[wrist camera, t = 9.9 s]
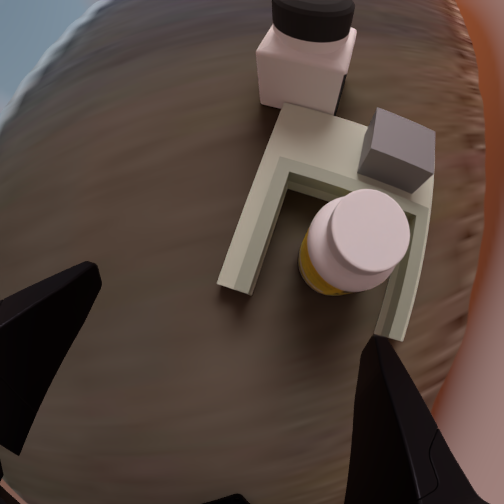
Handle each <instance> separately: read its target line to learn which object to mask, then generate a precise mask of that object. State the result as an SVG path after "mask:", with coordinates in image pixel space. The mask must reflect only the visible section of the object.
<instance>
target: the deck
mask: <svg viewBox="0 0 504 504" xmlns="http://www.w3.org/2000/svg"><path fill="white" fill-rule="evenodd" d="M434 166H435V131H433V130H431V129H428V128H426V127H424V126H422V125H420V124H417V123H415V122H413V121H411V120H408V119H406V118H403V117H401V116H399V115H396V114H394V113H391V112H389V111H386V110H383V109H381V108H378V107H377V109H376V111H375V113H374V116H373V118H372V120H371V122H370V124H369V126H368V127H367V126H364V125H361V124H358V123H355V122H352V121H349V120H346V119H343V118H340V117H336V116H333V115H330V114H326V113H323V112H320V111H316V110H312V109H309V108H305V107H301V106H297V105H293V104H289V103H285V102H284V104H283V106H282V109H281V111H280V114H279V116H278V119H277V121H276V124H275V127H274V129H273V132H272V134H271V137H270V140H269V142H268V145H267V147H266V150H265V153H264V155H263V158H262V161H261V163H260V166H259V168H258V171H257V174H256V176H255V179H254V182H253V185H252V187H251V190H250V193H249V195H248V198H247V201H246V203H245V206H244V209H243V212H242V214H241V217H240V220H239V223H238V225H237V228H236V231H235V234H234V236H233V239H232V242H231V245H230V247H229V250H228V253H227V256H226V259H225V262H224V264H223V267H222V270H221V273H220V276H219V279H218V281H217V284H219V285H222V286H225V287H228V288H231V289H233V290H236V291H239V292H242V293H245V294H248V295H251V296H252V294H253V291H254V288H255V285H256V282H257V279H258V276H259V273H260V270H261V267H262V264H263V261H264V258H265V255H266V252H267V249H268V246H269V243H270V240H271V237H272V234H273V231H274V228H275V225H276V222H277V219H278V216H279V213H280V210H281V207H282V204H283V201H284V198H285V195H286V192H287V189H290V190H293V191H297V192H300V193H303V194H306V195H309V196H313V197H316V198H319V199H322V200H325V201H328V202H330V201H332V200H334V199H337V198H340V197H344V196H346V195H348V194H349V193H351V192H353V191H356V190H360V189H373V190H377V191H380V192H383V193H385V194H387V195H388V196H390V197H391V198H392V199H394V200H395V201H396V202H397V203H398V204H399V206H400V207H401V208H402V210H403V212H404V213H405V215H406V218H407V220H408V224H409V228H410V241H409V246H408V249H407V251H406V253H405V255H404V257H403V258H402V260H401V261H400V262H399V263H398V264H397V265H396V266H395V268H394V270H393V272H392V273H391V274H390V277H389V281H388V285H387V289H386V293H385V296H384V300H383V304H382V307H381V311H380V314H379V318H378V321H377V324H376V327H375V331H374V334H376V335H380V336H385V337H387V338H391V339H394V340H398V341H402V342H403V339H404V336H405V333H406V329H407V326H408V322H409V319H410V315H411V312H412V308H413V304H414V300H415V296H416V292H417V287H418V283H419V278H420V274H421V269H422V264H423V259H424V253H425V247H426V241H427V235H428V228H429V221H430V213H431V204H432V194H433V182H434Z"/></svg>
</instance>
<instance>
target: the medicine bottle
mask: <svg viewBox="0 0 504 504" xmlns="http://www.w3.org/2000/svg"><path fill="white" fill-rule="evenodd" d="M354 9H355V4H354V2H353V1H352V0H272V16H273V25H272V26H271V28H270V29H269V31H268V33H267V34H266V36H265V37H264V39H263V41H262V42H261V44H260V45H259V47H258V49H257V50H256V60H257V71H258V81H259V93H260V102H261V104H263V105H267V106H271V107H275V108H279V109H282V106H283V104H284V102H285V103H289V104H293V105H297V106H301V107H305V108H309V109H312V110H316V111H320V112H323V113H326V114H330V115H333V116H336V112H337V109H338V105H339V101H340V98H341V94H342V90H343V86H344V83H345V79H346V75H347V71H348V67H349V63H350V59H351V55H352V51H353V47H354V43H355V38H356V34H357V31H356V30H355V29H354V28H351V23H352V19H353V14H354Z"/></svg>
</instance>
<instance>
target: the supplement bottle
mask: <svg viewBox="0 0 504 504" xmlns="http://www.w3.org/2000/svg"><path fill="white" fill-rule="evenodd" d="M409 241H410V228H409V224H408V220H407V218H406V215H405V213H404V212H403V210H402V208H401V207H400V206H399V204H398V203H397V202H396V201H395V200H394V199H392V198H391V197H390V196H388V195H387V194H385V193H383V192H380V191H377V190H373V189H360V190H356V191H353V192H351V193H349V194H348V195H346V196H344V197H340V198H337V199H334V200H332V201H330V202H329V203H327V204H326V205H325V206H323V207H322V208H321V209H320V210H319V212H318V213H317V214H316V216H315V217H314V219H313V220H312V222H311V224H310V227H309V229H308V231H307V233H306V235H305V237H304V240H303V242H302V244H301V246H300V249H299V254H298V266H299V270H300V273H301V275H302V277H303V279H304V281H305V282H306V283H307V284H308V285H309V286H310V287H311V288H312V289H313V290H315V291H316V292H318V293H321V294H323V295H328V296H340V295H345V294H350V293H356V292H362V291H366V290H369V289H372V288H374V287H376V286H378V285H379V284H381V283H382V282H384V281H385V280H386V279H387V278H388V277H389V275H390V274H391V273H392V272H393V270H394V268H395V266H396V265H397V264H398V263H399V262H400V261H401V260H402V258H403V257H404V255H405V253H406V251H407V249H408V246H409Z"/></svg>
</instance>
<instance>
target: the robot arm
mask: <svg viewBox="0 0 504 504" xmlns="http://www.w3.org/2000/svg"><path fill="white" fill-rule="evenodd" d="M101 286H102V281H101V277H100V273H99V269H98V266H97V265H96V264H95V263H92V262H89V261H85V262H82V263H80V264H78V265H76V266H73V267H71V268H69V269H66V270H64V271H62V272H60V273H58V274H55V275H53V276H51V277H49V278H47V279H44V280H42V281H40V282H38V283H36V284H34V285H31V286H29V287H27V288H25V289H23V290H21V291H19V292H17V293H15V294H13V295H11V296H9V297H7V298H5V299H4V300H0V445H2V446H3V447H5V448H6V449H8V450H9V451H11V452H13V453H14V454H16V455H18V456H19V455H20V453H21V450H22V448H23V445H24V443H25V440H26V438H27V435H28V433H29V430H30V428H31V426H32V423H33V421H34V419H35V416H36V414H37V412H38V409H39V407H40V405H41V403H42V401H43V399H44V397H45V395H46V392H47V390H48V388H49V386H50V384H51V382H52V380H53V378H54V376H55V375H56V373H57V371H58V369H59V367H60V365H61V363H62V361H63V359H64V357H65V356H66V354H67V352H68V350H69V348H70V347H71V345H72V343H73V341H74V340H75V338H76V336H77V334H78V333H79V331H80V329H81V327H82V326H83V324H84V322H85V320H86V318H87V316H88V314H89V312H90V309H91V307H92V305H93V303H94V301H95V299H96V297H97V295H98V293H99V291H100V289H101ZM437 428H438V426H437V424H436V422H435V421H434V419H433V417H432V415H431V413H430V411H429V409H428V407H427V405H426V404H425V402H424V400H423V398H422V396H421V395H420V393H419V391H418V389H417V388H416V386H415V384H414V382H413V381H412V379H411V377H410V375H409V374H408V372H407V370H406V368H405V367H404V365H403V363H402V362H401V360H400V358H399V357H398V355H397V353H396V352H395V350H394V348H393V347H392V345H391V344H390V342H389V340H388V339H387V338H386V337H385V336H380V335H373V336H372V337H371V338H370V340H369V341H368V343H367V345H366V346H365V348H364V349H363V351H362V354H361V358H360V366H359V373H358V381H357V387H356V394H355V401H354V417H353V432H352V444H351V455H350V464H349V473H348V481H347V488H346V495H345V501H344V504H489V503H487V502H486V501H484V500H483V499H481V498H480V497H479V496H478V495H477V493H476V492H475V491H474V489H473V487H472V486H471V484H470V482H469V481H468V479H467V477H466V476H465V474H464V472H463V471H462V469H461V468H460V466H459V464H458V463H457V461H456V459H455V457H454V456H453V454H452V453H451V451H450V449H449V447H448V445H447V443H446V441H445V439H444V437H443V436H442V434H441V432H440V430H439V429H437ZM2 477H3V470H2V466H1V461H0V481H1V479H2ZM236 498H239V499H236ZM0 504H20V503H19V502H18V501H17V500H16V499H14V498H13V497H12V496H11V495H10V494H9V493H8V492H7V491H6V490H5V489H4V488H3V487H1V486H0ZM203 504H250V503H249V502H248V501H247V500H246V499H245V498H244V497H243V496H242V495H241V494H233V495H230V496H227V497H224V498H221V499H217V500H214V501H210V502H207V503H203Z"/></svg>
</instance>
